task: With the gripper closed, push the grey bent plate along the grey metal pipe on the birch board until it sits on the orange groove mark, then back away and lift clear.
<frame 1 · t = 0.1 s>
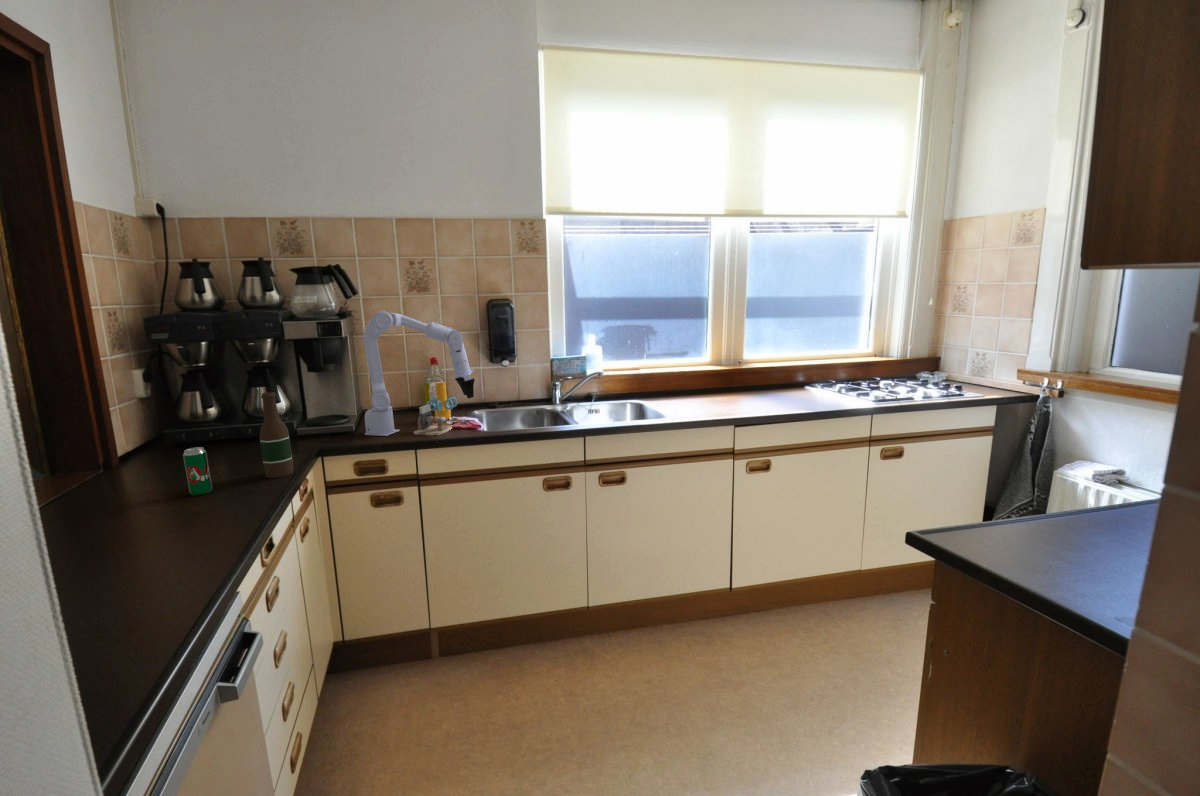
hand: (468, 396, 222), 11 cm above the countertop, tool pointing down, fingers open, 7 cm apart
yellow blue ringed piece: (443, 420, 231), on the countertop
soda can: (201, 493, 156), on the countertop
grey bent plate: (425, 416, 212), point 6 cm above the countertop, slide at 0.0 cm
beer bottle: (280, 474, 170), on the countertop
pipe rig: (433, 431, 213), on the countertop
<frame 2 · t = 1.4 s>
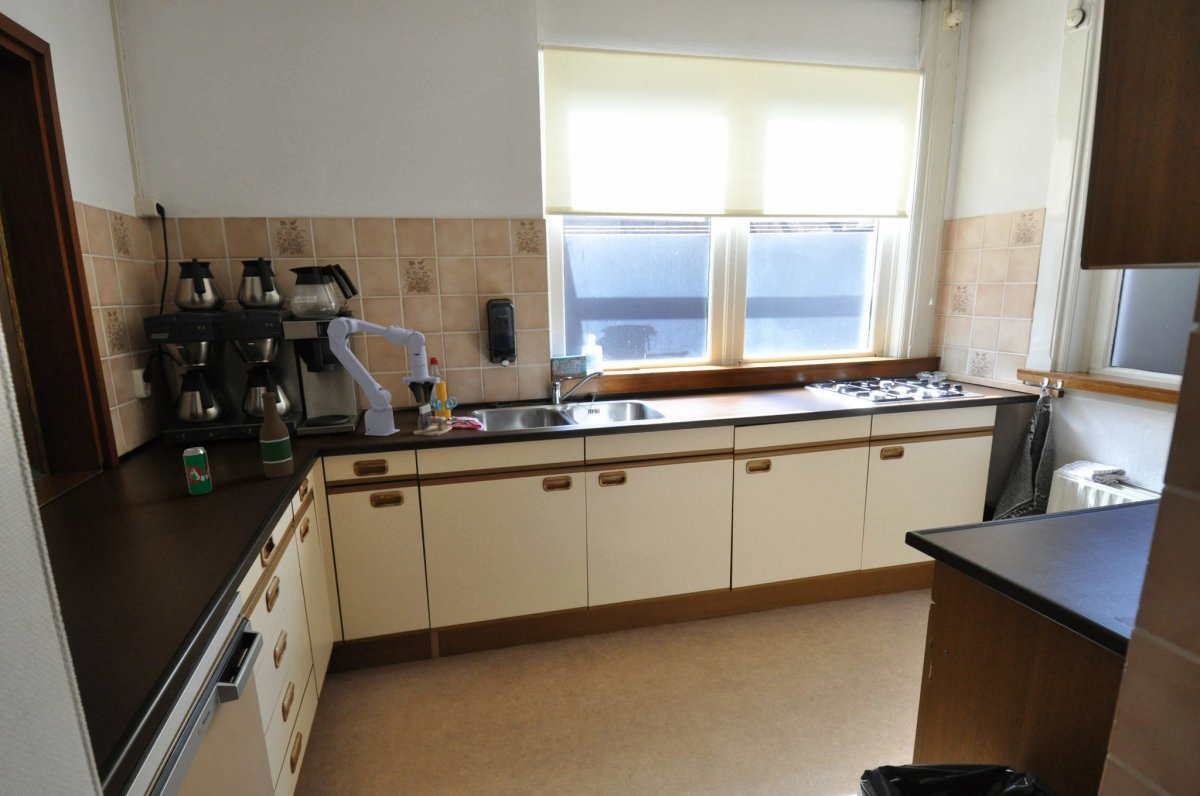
hand: (423, 402, 214), 10 cm above the countertop, tool pointing down, fingers open, 3 cm apart
nothing on the countertop moved.
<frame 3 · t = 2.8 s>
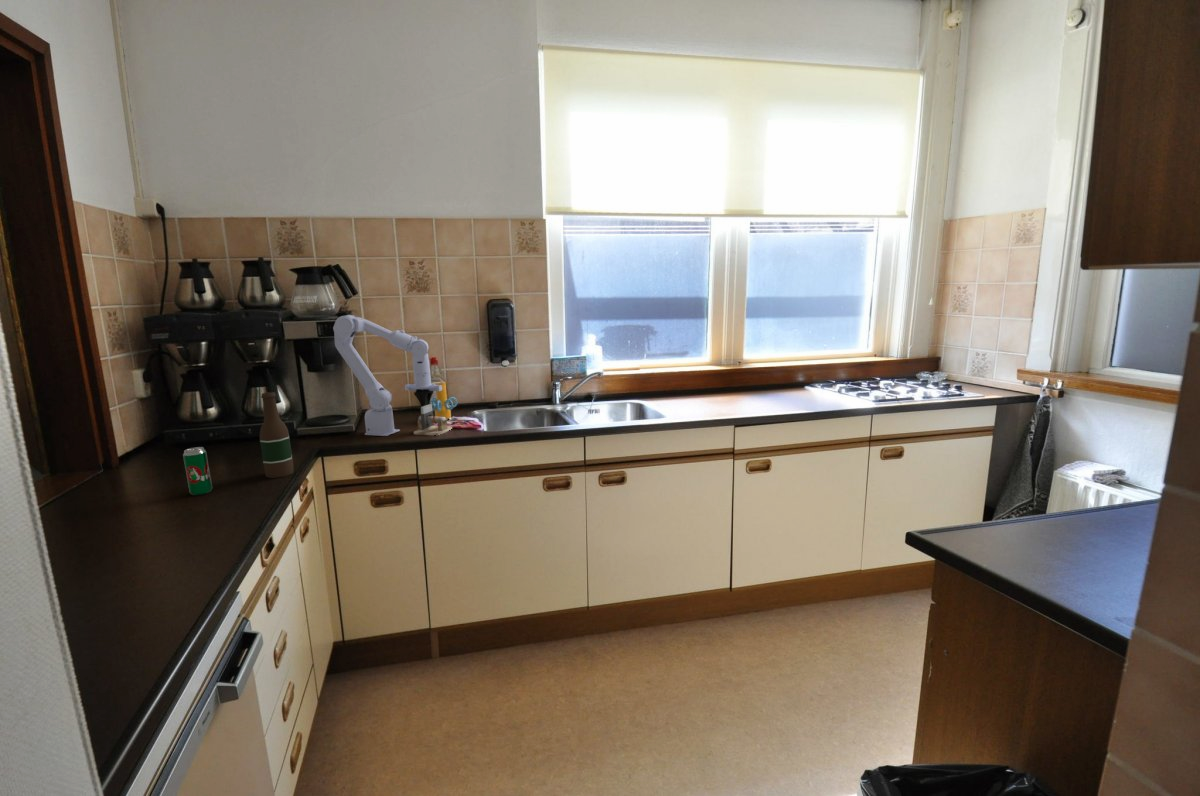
hand: (425, 409, 214), 8 cm above the countertop, tool pointing down, fingers closed
grey bent plate: (427, 416, 212), point 6 cm above the countertop, slide at 0.6 cm, touching gripper
everything else where it was.
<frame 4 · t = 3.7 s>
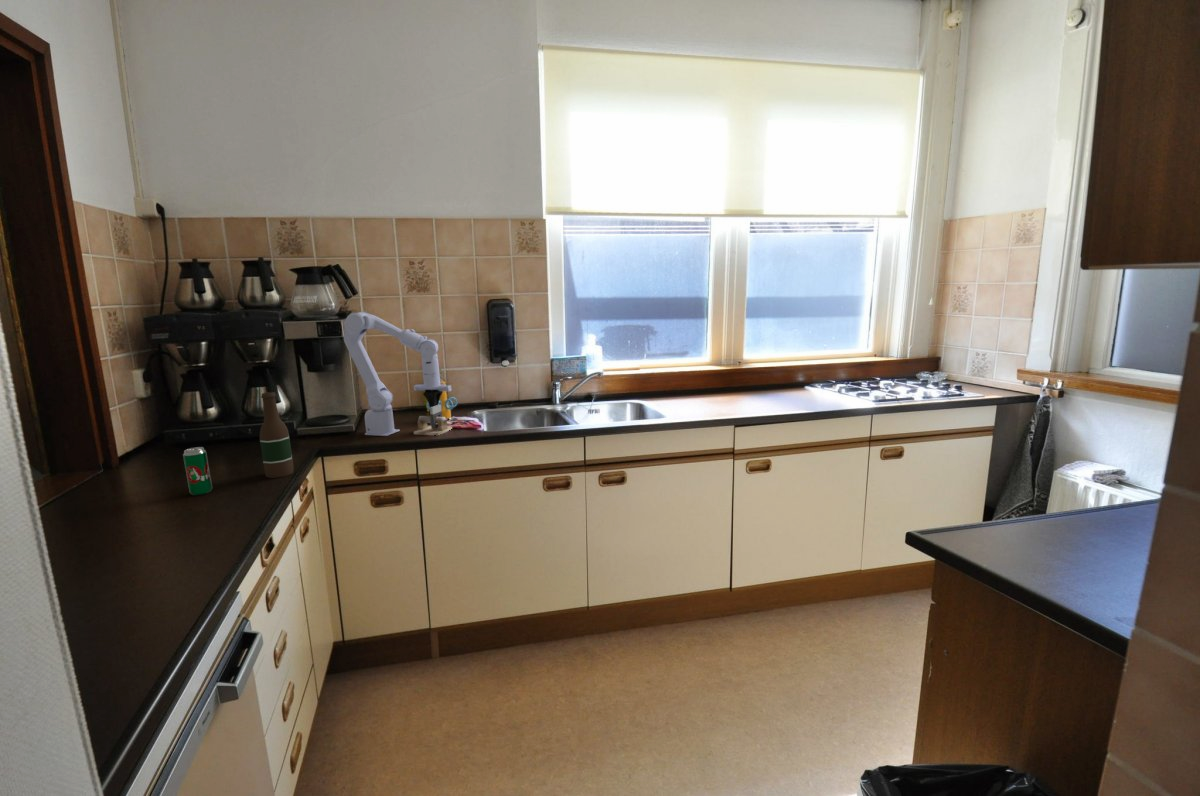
hand: (434, 410, 213), 8 cm above the countertop, tool pointing down, fingers closed
grey bent plate: (436, 416, 211), point 6 cm above the countertop, slide at 4.4 cm, touching gripper
everything else where it was.
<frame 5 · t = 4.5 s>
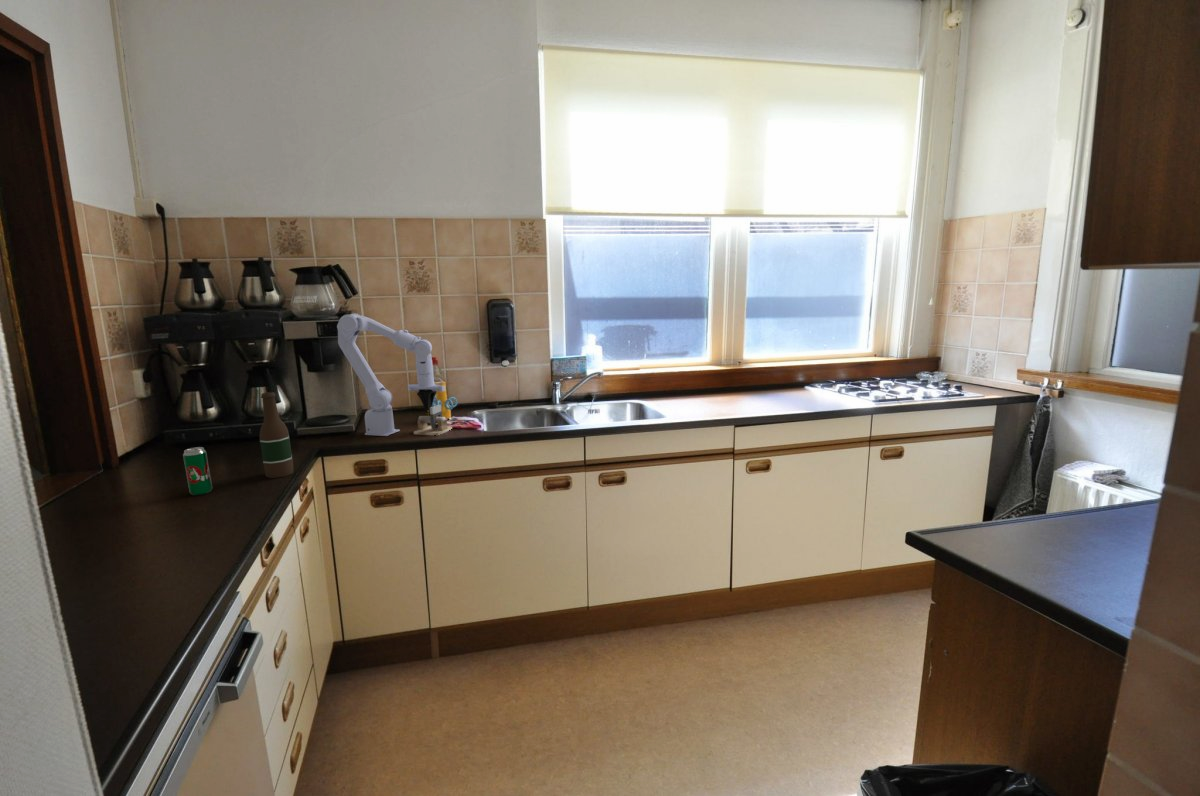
hand: (428, 410, 213), 8 cm above the countertop, tool pointing down, fingers closed
grey bent plate: (436, 416, 211), point 6 cm above the countertop, slide at 4.4 cm
everything else where it was.
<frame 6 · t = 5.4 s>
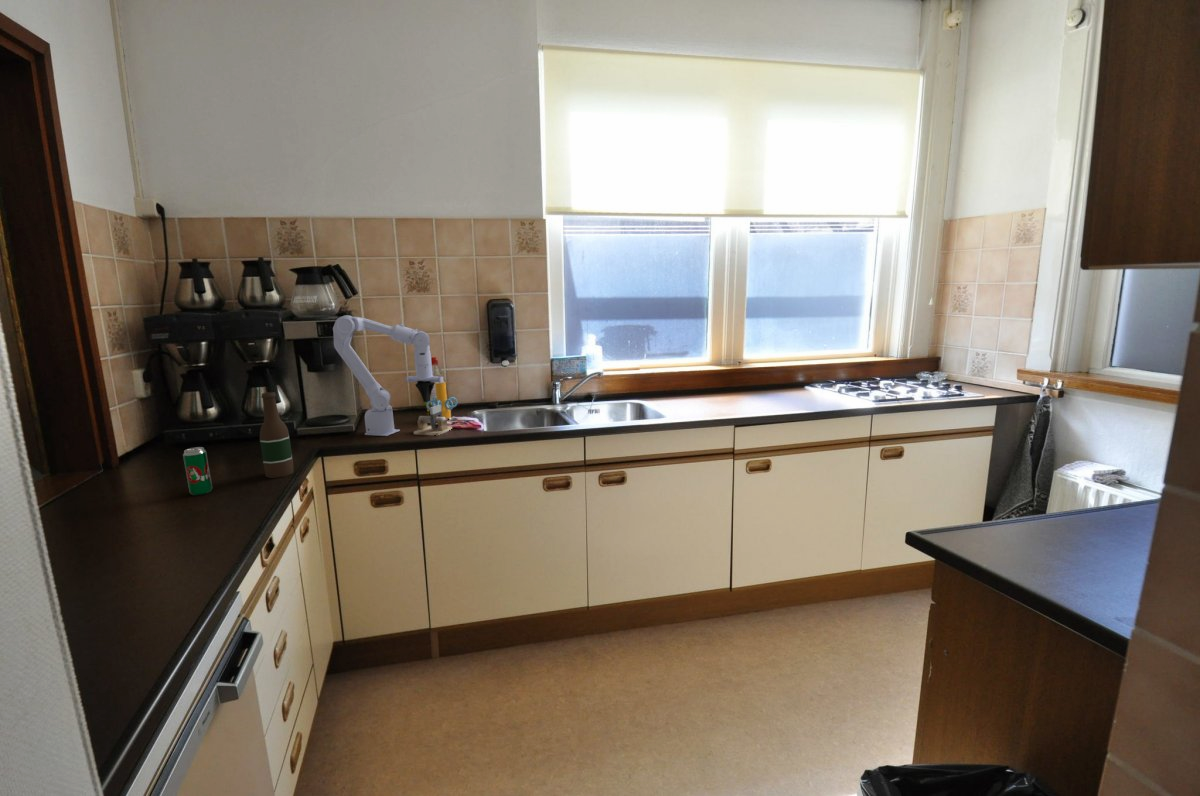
hand: (426, 401, 215), 10 cm above the countertop, tool pointing down, fingers closed
nothing on the countertop moved.
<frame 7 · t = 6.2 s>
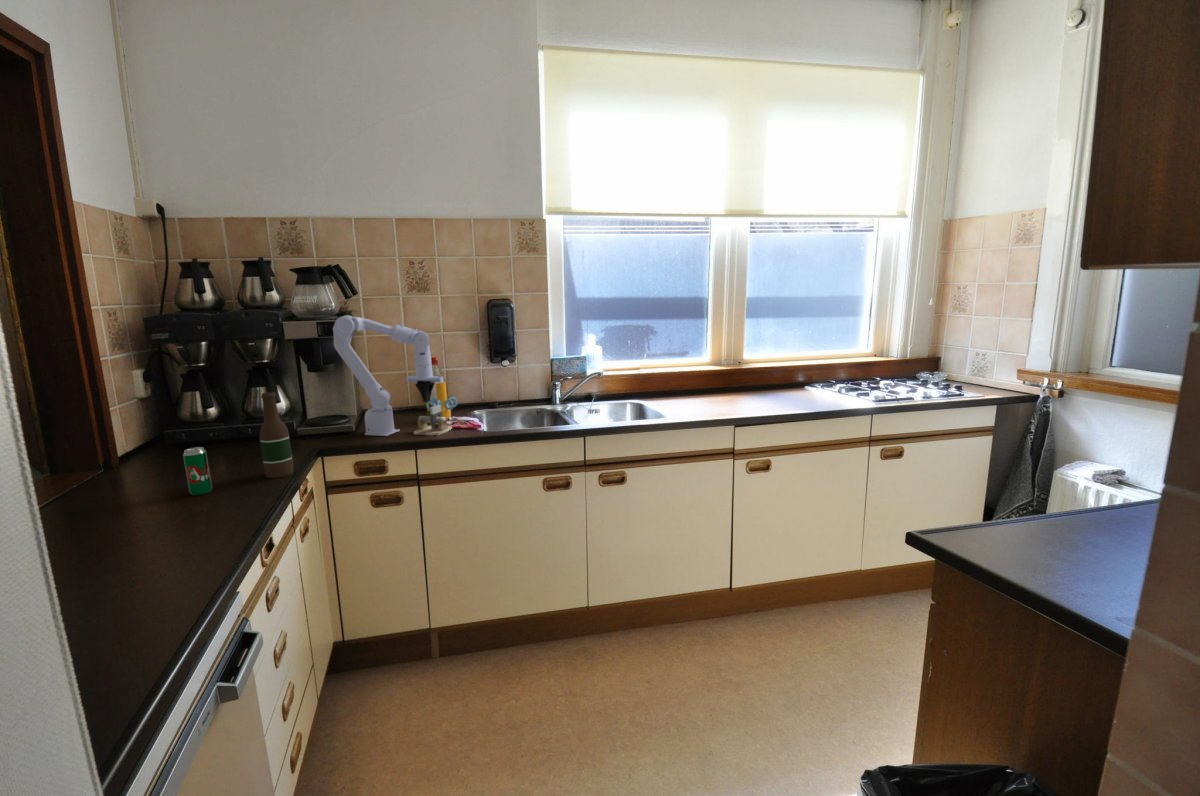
hand: (426, 401, 215), 10 cm above the countertop, tool pointing down, fingers closed
nothing on the countertop moved.
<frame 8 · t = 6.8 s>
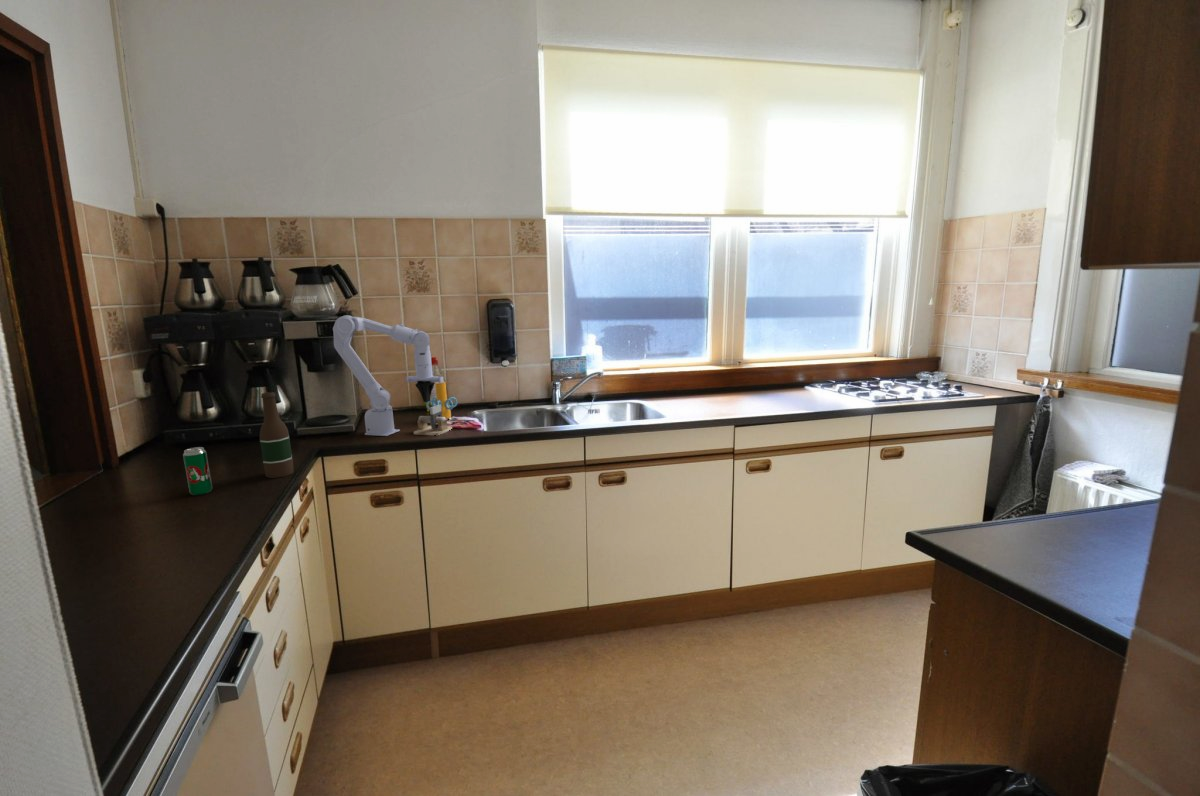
hand: (426, 401, 215), 10 cm above the countertop, tool pointing down, fingers closed
nothing on the countertop moved.
at the end: grey bent plate slide at 4.4 cm; grey bent plate 0.5 cm from the target spot, resting on pipe rig; the gripper is holding nothing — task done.
